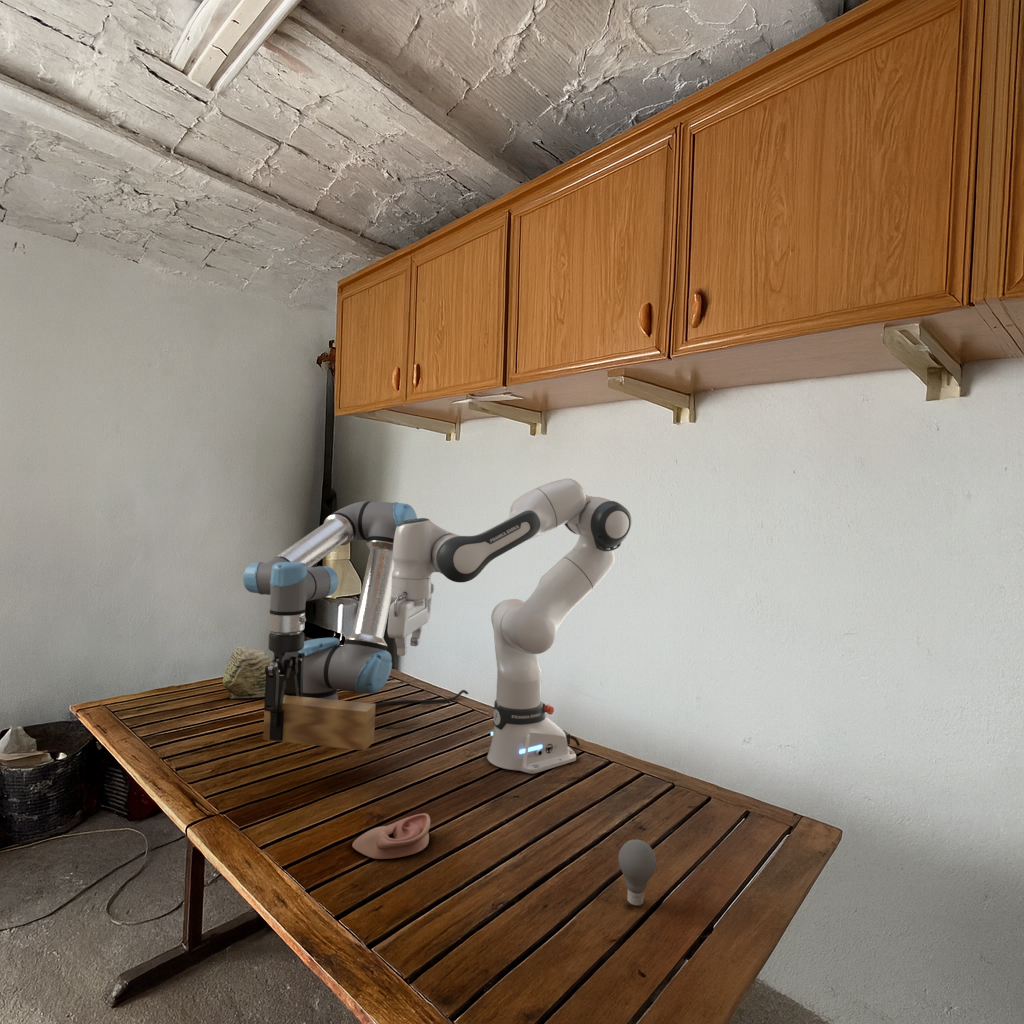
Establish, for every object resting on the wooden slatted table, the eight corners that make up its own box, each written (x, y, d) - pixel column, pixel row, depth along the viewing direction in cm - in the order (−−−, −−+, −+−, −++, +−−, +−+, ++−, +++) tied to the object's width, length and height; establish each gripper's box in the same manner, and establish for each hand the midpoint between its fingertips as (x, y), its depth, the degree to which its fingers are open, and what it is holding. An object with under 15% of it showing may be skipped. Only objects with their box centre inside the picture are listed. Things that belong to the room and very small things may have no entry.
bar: (263, 739, 140) (264, 701, 139) (275, 731, 145) (277, 694, 145) (365, 750, 136) (366, 711, 136) (374, 741, 141) (375, 703, 141)
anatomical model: (345, 832, 112) (372, 802, 124) (344, 854, 113) (371, 822, 124) (415, 843, 110) (436, 812, 121) (414, 866, 110) (436, 832, 121)
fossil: (218, 695, 195) (220, 647, 195) (278, 685, 208) (279, 640, 207) (228, 703, 189) (230, 653, 188) (289, 692, 201) (290, 645, 201)
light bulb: (612, 891, 105) (615, 832, 105) (647, 891, 106) (650, 832, 105) (621, 915, 99) (624, 852, 99) (659, 914, 100) (662, 852, 99)
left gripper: (281, 642, 132) (277, 752, 132) (321, 625, 150) (317, 722, 150) (248, 639, 133) (244, 748, 133) (291, 622, 151) (288, 719, 151)
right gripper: (410, 597, 133) (407, 662, 133) (436, 584, 153) (434, 641, 153) (381, 595, 134) (378, 660, 134) (411, 583, 154) (408, 639, 154)
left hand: (283, 734), depth 142 cm, fingers closed on bar, 5 cm apart
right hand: (408, 650), depth 144 cm, fingers open, 8 cm apart
